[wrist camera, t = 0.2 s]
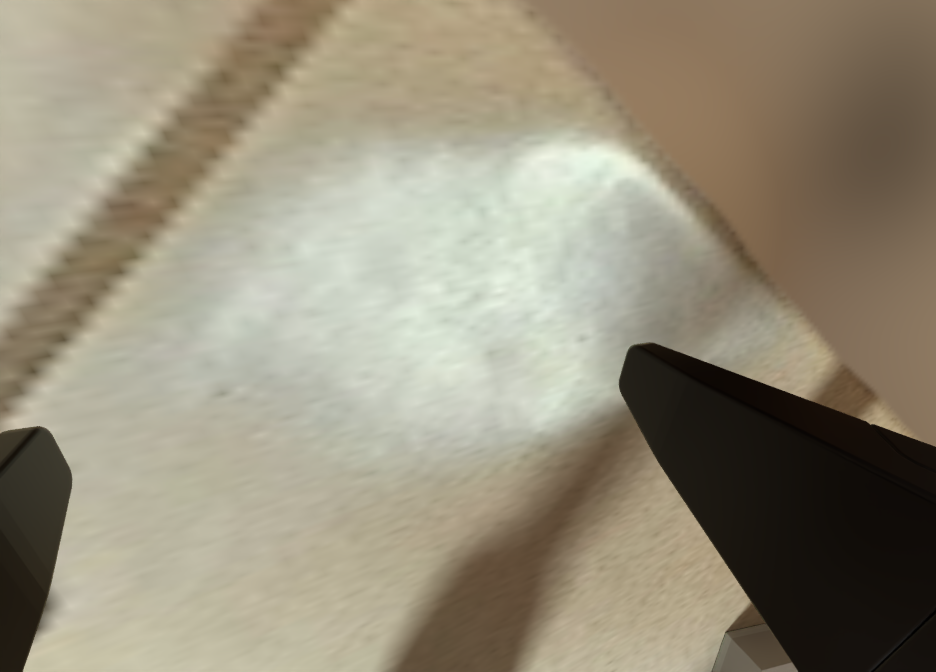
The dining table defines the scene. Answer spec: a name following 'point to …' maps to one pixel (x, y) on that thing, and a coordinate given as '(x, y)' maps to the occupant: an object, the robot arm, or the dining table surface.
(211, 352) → the dining table surface
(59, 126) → the dining table surface
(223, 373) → the dining table surface
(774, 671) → the gray tray
